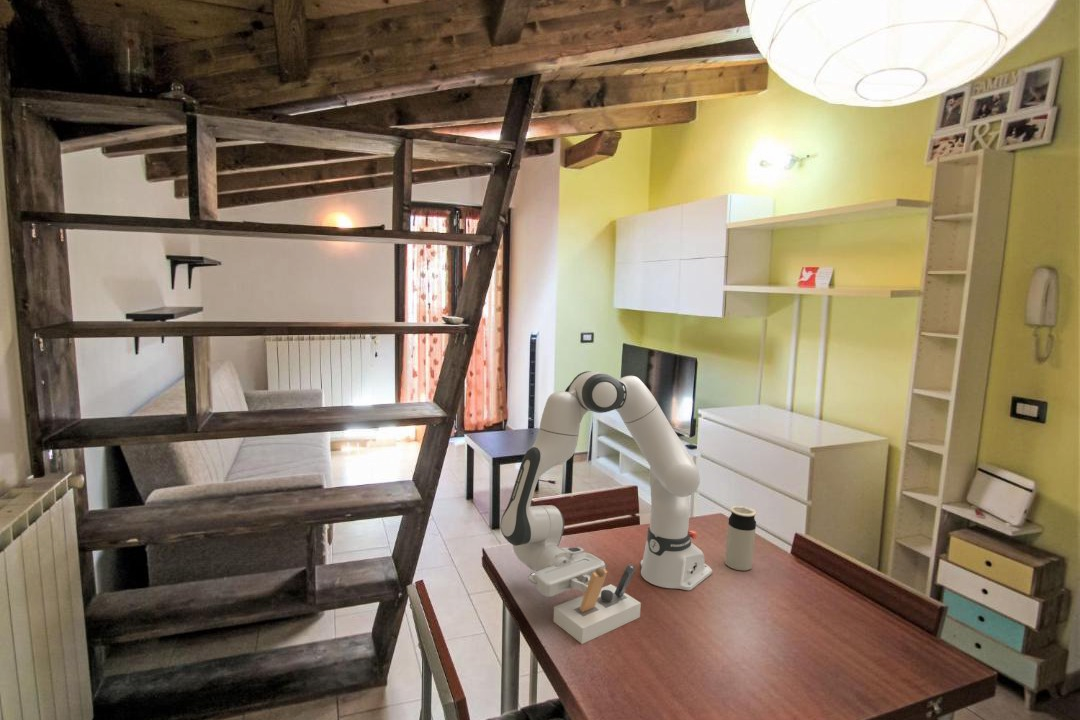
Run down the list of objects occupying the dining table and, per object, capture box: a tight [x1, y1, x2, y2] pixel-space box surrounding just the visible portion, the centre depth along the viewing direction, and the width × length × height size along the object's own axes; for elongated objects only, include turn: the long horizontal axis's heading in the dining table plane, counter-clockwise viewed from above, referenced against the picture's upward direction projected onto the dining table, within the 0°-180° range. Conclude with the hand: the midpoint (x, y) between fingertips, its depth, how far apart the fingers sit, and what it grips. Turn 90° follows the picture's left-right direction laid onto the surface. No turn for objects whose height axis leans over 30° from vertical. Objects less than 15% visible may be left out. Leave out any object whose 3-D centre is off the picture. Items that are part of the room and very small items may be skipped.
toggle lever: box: [615, 564, 636, 598], centre depth 150 cm, size 2×2×10 cm
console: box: [553, 583, 642, 645], centre depth 149 cm, size 20×11×4 cm, turn 127°
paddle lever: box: [580, 568, 608, 612], centre depth 143 cm, size 4×2×13 cm, turn 127°
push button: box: [601, 590, 613, 601], centre depth 150 cm, size 3×3×1 cm
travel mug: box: [724, 505, 757, 572], centre depth 180 cm, size 8×8×18 cm
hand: (590, 588), depth 144 cm, fingers closed, pressing on paddle lever
